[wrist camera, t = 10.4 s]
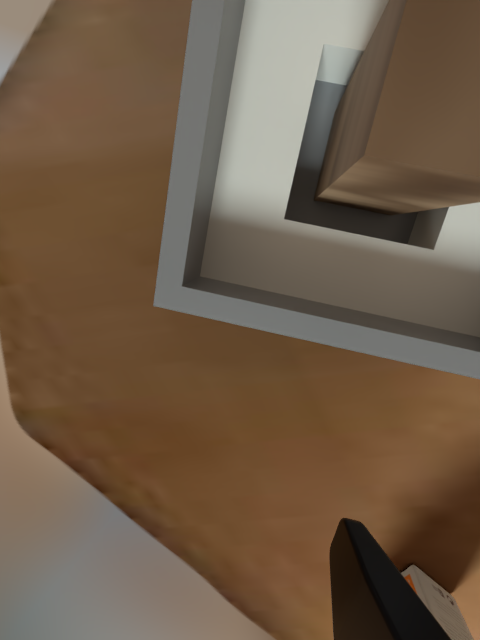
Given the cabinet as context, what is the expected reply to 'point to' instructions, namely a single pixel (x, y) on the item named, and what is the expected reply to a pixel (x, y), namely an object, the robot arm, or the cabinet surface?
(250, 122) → the peg socket
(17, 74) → the cabinet surface
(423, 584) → the skincare box
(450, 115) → the walnut peg
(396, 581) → the robot arm
